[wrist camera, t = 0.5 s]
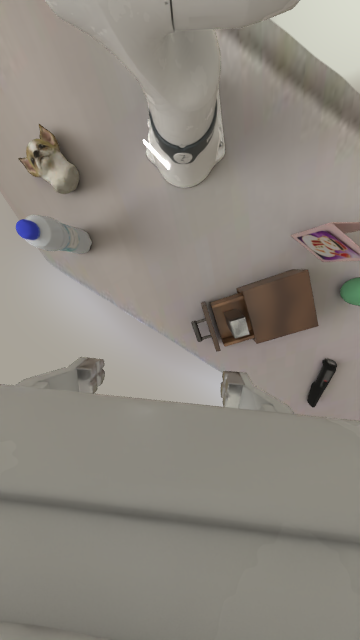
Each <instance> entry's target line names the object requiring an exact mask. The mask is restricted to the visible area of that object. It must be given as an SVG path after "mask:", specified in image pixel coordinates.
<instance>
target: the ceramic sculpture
mask: <svg viewBox="0 0 360 640" xmlns="http://www.w3.org/2000/svg"><path fill="white" fill-rule="evenodd" d="M39 128H40V139H34V140H32V141H31V142H30V143H29V144H28V146H27V150H26V154H27V157H26V158H18V159H19V160H20V161H21V162H22V164H23V165H24V166H25V168H26V169H27V171H28V172H29V173H30V174H32V175H33V176H35V177H42V178H43V179H44V180H45V181H47V182H48V183H50V184H51V185H52V186H53V187H54V189H55V191H56V192H58V193H61V194H67V193H70V192H71V191H73V190H75V189H76V188H77V185H78V181H79V173H78V170H77V169H76V167H75V166H74V165H73V164H70V163H69V162H68V161H67V160H66V159H65V158H64V156H63V155H62V154H61V153H60V149H59V145H58V142H57V140H56V138H55V136H54V135H53V134H52V133H51V132H50V131H48V130H47V129H45V128H44V127H43V126H41V125H40V124H39Z"/></svg>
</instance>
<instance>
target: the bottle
mask: <svg viewBox="0 0 360 640" xmlns="http://www.w3.org/2000/svg"><path fill="white" fill-rule="evenodd" d="M16 230H17V232H18V234H19V235H20V236H21V237H22V238H25V239H26V240H27V242H28V243H29V244H31V245H32V246H34V247H37V248H41V249H44V250H47V251H58V250H61V251H69V252H73V253H78V254H83V253H85V252H88V251H89V250H90V246H91V244H92V241H91V239H90V237H89V234H88V233H87V232H85V231H84V230H82V229H79V228H75V227H71V226H68V225H65V224H62V223H60V222H59V221H57V220H55V219H53V218H51V217H47V216H40V215H30V216H28V217H26V218H25V219H22V220H20V221H18V222H17V224H16Z"/></svg>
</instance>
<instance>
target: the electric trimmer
mask: <svg viewBox="0 0 360 640" xmlns="http://www.w3.org/2000/svg"><path fill="white" fill-rule="evenodd" d="M336 367H337V364H336V362H335V361H333V360H330V359H325V360H323V367H322V370H321V372H320V374H319V376H318V378H317V380H316V382H314V383H313V384H312V386H311V390H310V393H309V396H308V399H307V401H308V403H309V404H310V406H312V407H315V406H316V404H317V402H318V400H319V398H320V397H321V395H322V393H323V391H324V390H325V388H326V387H327V385H328V383H329V382H330V380H331V378H332V376H333V375H334V373H335V371H336Z"/></svg>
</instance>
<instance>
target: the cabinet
mask: <svg viewBox="0 0 360 640" xmlns="http://www.w3.org/2000/svg"><path fill="white" fill-rule="evenodd" d="M236 289H237V292H238V293H242V294H243V296H244V300H245V304H246V308H247V311H248V315H249V319H250V322H251V326H252V330H253V334H254V337H255V338H252V339H253V340H254V341H255V342H256V343H257V344H258V343H261V342H264V341H268V340H271V339H275V338H278V337H282V336H285V335H289V334H292V333H296V332H299V331H303V330H306V329H309V328H313V327H316V326H318V321H317V316H316V310H315V305H314V299H313V294H312V288H311V283H310V277H309V272H308V270H294V269H293V270H290V271H287V272H284V273H281V274H278V275H275V276H272V277H269V278H266V279H263V280H260V281H257V282H254V283H251V284H248V285H245V286H242V287H239V288H236Z"/></svg>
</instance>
